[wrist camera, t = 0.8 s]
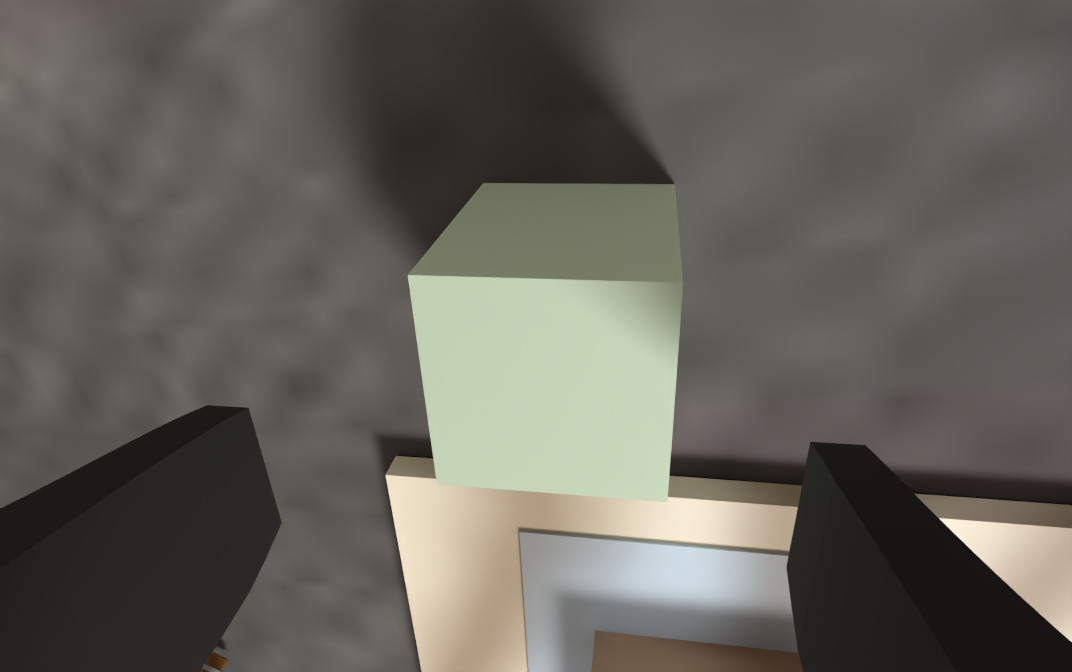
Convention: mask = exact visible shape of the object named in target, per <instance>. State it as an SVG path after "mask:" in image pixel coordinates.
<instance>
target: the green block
mask: <svg viewBox="0 0 1072 672" xmlns="http://www.w3.org/2000/svg"><path fill="white" fill-rule="evenodd" d="M408 280H409V287H410V294H411V302H412V309H413V316H414V323H415V330H416V337H417V345H418V352H419V359H420V366H421V373H422V381H423V388H424V395H425V402H426V409H427V416H428V424H429V431H430V438H431V445H432V452H433V460H434V467H435V474H436V481H437V484H440V485H453V486H466V487H478V488H491V489H504V490H517V491H530V492H542V493H555V494H568V495H581V496H594V497H606V498H619V499H632V500H645V501H657V502H668V488H669V474H670V459H671V445H672V431H673V417H674V403H675V389H676V375H677V361H678V347H679V333H680V319H681V305H682V291H683V276H682V264H681V252H680V239H679V227H678V215H677V203H676V191H675V184H550V183H483V184H482V185H481V186H480V188H479V189H478V190H477V191H476V192H475V194H474V195H473V196H472V197H471V199H470V200H469V201H468V202H467V203H466V205H465V206H464V207H463V208H462V210H461V211H460V212H459V213H458V214H457V216H456V217H455V218H454V219H453V221H452V222H451V223H450V224H449V225H448V227H447V228H446V229H445V230H444V231H443V233H442V234H441V235H440V236H439V238H438V239H437V240H436V241H435V242H434V244H433V245H432V246H431V247H430V249H429V250H428V251H427V252H426V253H425V255H424V256H423V257H422V258H421V260H420V261H419V262H418V263H417V264H416V266H415V267H414V268H413V269H412V271H411V272H410V273H409V274H408Z"/></svg>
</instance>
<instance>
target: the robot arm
mask: <svg viewBox="0 0 1072 672" xmlns="http://www.w3.org/2000/svg"><path fill="white" fill-rule="evenodd" d="M281 523H282V522H281V519H280V515H279V512H278V508H277V505H276V501H275V498H274V494H273V491H272V488H271V484H270V481H269V477H268V474H267V470H266V467H265V463H264V460H263V456H262V453H261V450H260V446H259V443H258V439H257V436H256V432H255V429H254V425H253V422H252V418H251V415H250V412H249V408H242V407H225V406H209V405H207V406H205V407H202V408H200V409H198V410H195V411H193V412H190V413H188V414H186V415H184V416H181V417H179V418H177V419H175V420H173V421H171V422H169V423H167V424H165V425H163V426H161V427H159V428H156V429H154V430H152V431H150V432H148V433H146V434H145V435H143V436H141V437H139V438H137V439H135V440H133V441H131V442H129V443H127V444H125V445H123V446H121V447H119V448H117V449H115V450H114V451H112V452H110V453H108V454H106V455H104V456H102V457H100V458H98V459H96V460H94V461H92V462H90V463H89V464H87V465H85V466H83V467H81V468H79V469H77V470H75V471H73V472H71V473H69V474H67V475H65V476H64V477H62V478H60V479H58V480H56V481H54V482H52V483H50V484H48V485H46V486H44V487H42V488H40V489H39V490H37V491H35V492H33V493H31V494H29V495H27V496H25V497H23V498H21V499H19V500H17V501H15V502H13V503H11V504H9V505H7V506H5V507H3V508H1V509H0V672H200V670H201V669H202V667H203V666H204V664H205V662H206V661H207V659H208V658H209V656H210V655H211V653H212V651H213V650H214V648H215V647H216V645H217V644H218V642H219V640H220V639H221V637H222V636H223V634H224V632H225V631H226V629H227V628H228V626H229V624H230V623H231V621H232V620H233V618H234V616H235V615H236V613H237V612H238V610H239V608H240V607H241V605H242V603H243V602H244V600H245V598H246V597H247V595H248V593H249V592H250V590H251V588H252V586H253V584H254V582H255V580H256V578H257V576H258V573H259V571H260V569H261V567H262V565H263V563H264V561H265V559H266V557H267V555H268V552H269V550H270V548H271V545H272V543H273V541H274V539H275V536H276V534H277V532H278V530H279V527H280V525H281ZM786 568H787V576H788V584H789V591H790V599H791V607H792V614H793V621H794V628H795V634H796V641H797V648H798V652H799V657H800V661H801V665H802V669H803V672H1072V642H1071V641H1070V640H1069V639H1068V638H1066V637H1065V636H1064V635H1063V634H1062V633H1061V632H1059V631H1058V630H1057V629H1056V628H1055V627H1054V626H1053V625H1052V624H1050V623H1049V622H1048V621H1047V620H1046V619H1045V618H1044V617H1043V616H1042V615H1040V614H1039V613H1038V612H1037V611H1036V610H1035V609H1034V608H1033V607H1032V606H1031V605H1029V604H1028V603H1027V602H1026V601H1025V600H1024V599H1023V598H1022V597H1021V596H1020V595H1018V594H1017V593H1016V592H1015V591H1014V590H1013V589H1012V588H1011V587H1010V586H1009V585H1008V584H1007V583H1006V582H1004V581H1003V580H1002V579H1001V578H1000V577H999V576H998V575H997V574H996V573H995V572H994V571H993V570H992V569H991V568H990V567H989V566H988V565H986V564H985V563H984V562H983V561H982V560H981V559H980V558H979V557H978V556H977V555H976V554H975V553H974V552H973V551H972V550H971V549H970V548H969V547H968V546H967V545H966V544H965V543H964V542H963V541H962V540H960V539H959V538H958V537H957V536H956V535H955V534H954V533H953V532H952V531H951V530H950V529H949V528H948V527H947V526H946V525H945V524H944V523H943V522H942V521H941V520H940V519H939V518H938V517H937V516H936V515H935V514H934V513H933V512H932V511H931V510H930V509H929V508H928V507H927V506H926V505H925V504H924V503H923V502H922V501H921V500H920V499H919V498H918V497H917V496H916V495H915V494H914V493H913V492H912V491H911V490H910V489H909V488H908V487H907V486H906V485H905V484H904V483H903V482H902V481H901V480H900V479H899V478H898V477H897V476H896V475H895V474H894V473H893V472H892V471H891V470H890V469H889V468H888V467H887V466H886V465H885V464H884V463H883V462H882V461H881V460H880V459H879V458H878V457H877V456H876V455H875V454H874V453H873V452H872V451H871V450H870V449H869V448H868V447H867V446H866V445H852V444H836V443H819V442H810V447H809V452H808V457H807V462H806V468H805V473H804V478H803V483H802V488H801V494H800V499H799V504H798V509H797V514H796V520H795V525H794V530H793V535H792V540H791V546H790V551H789V556H788V561H787V566H786Z"/></svg>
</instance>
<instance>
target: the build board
mask: <svg viewBox="0 0 1072 672" xmlns="http://www.w3.org/2000/svg"><path fill="white" fill-rule="evenodd" d="M386 480H387V486H388V491H389V497H390V502H391V508H392V513H393V519H394V524H395V529H396V535H397V540H398V546H399V551H400V557H401V562H402V568H403V573H404V578H405V584H406V589H407V595H408V600H409V606H410V611H411V616H412V622H413V627H414V633H415V638H416V644H417V649H418V655H419V660H420V665H421V671H422V672H803V669H802V665H801V661H800V657H799V652H798V648H797V641H796V634H795V628H794V621H793V614H792V607H791V599H790V591H789V584H788V576H787V568H786V566H787V561H788V556H789V551H790V546H791V540H792V535H793V530H794V525H795V520H796V514H797V509H798V504H799V499H800V494H801V488H802V485H789V484H775V483H762V482H748V481H734V480H720V479H707V478H693V477H679V476H669V488H668V502H657V501H645V500H632V499H619V498H606V497H594V496H581V495H568V494H555V493H542V492H530V491H517V490H504V489H491V488H478V487H466V486H453V485H440V484H437V481H436V474H435V467H434V460H433V458H419V457H405V456H396V457H395V458H394V460H393V462H392V464H391V466H390V468H389V469H388V471H387V473H386ZM915 495H916V496H917V497H918V498H919V499H920V500H921V501H922V502H923V503H924V504H925V505H926V506H927V507H928V508H929V509H930V510H931V511H932V512H933V513H934V514H935V515H936V516H937V517H938V518H939V519H940V520H941V521H942V522H943V523H944V524H945V525H946V526H947V527H948V528H949V529H950V530H951V531H952V532H953V533H954V534H955V535H956V536H957V537H958V538H959V539H960V540H962V541H963V542H964V543H965V544H966V545H967V546H968V547H969V548H970V549H971V550H972V551H973V552H974V553H975V554H976V555H977V556H978V557H979V558H980V559H981V560H982V561H983V562H984V563H985V564H986V565H988V566H989V567H990V568H991V569H992V570H993V571H994V572H995V573H996V574H997V575H998V576H999V577H1000V578H1001V579H1002V580H1003V581H1004V582H1006V583H1007V584H1008V585H1009V586H1010V587H1011V588H1012V589H1013V590H1014V591H1015V592H1016V593H1017V594H1018V595H1020V596H1021V597H1022V598H1023V599H1024V600H1025V601H1026V602H1027V603H1028V604H1029V605H1031V606H1032V607H1033V608H1034V609H1035V610H1036V611H1037V612H1038V613H1039V614H1040V615H1042V616H1043V617H1044V618H1045V619H1046V620H1047V621H1048V622H1049V623H1050V624H1052V625H1053V626H1054V627H1055V628H1056V629H1057V630H1058V631H1059V632H1061V633H1062V634H1063V635H1064V636H1065V637H1066V638H1068V639H1069V640H1070V641H1071V642H1072V505H1063V504H1049V503H1036V502H1022V501H1008V500H994V499H981V498H967V497H953V496H940V495H926V494H915Z"/></svg>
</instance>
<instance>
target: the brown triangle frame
mask: <svg viewBox="0 0 1072 672" xmlns="http://www.w3.org/2000/svg"><path fill="white" fill-rule="evenodd" d="M227 662H228V661H227V659H226V658H224V657H222V656H220V655H218V654H216V653H214V652H213V653H211V655H210V657H209V658H208V660H207V662H206V664H204V666H203V667H202V670H201V671H200V672H221V671H222V669H223V668H224V667H225V665H226V664H227Z"/></svg>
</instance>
